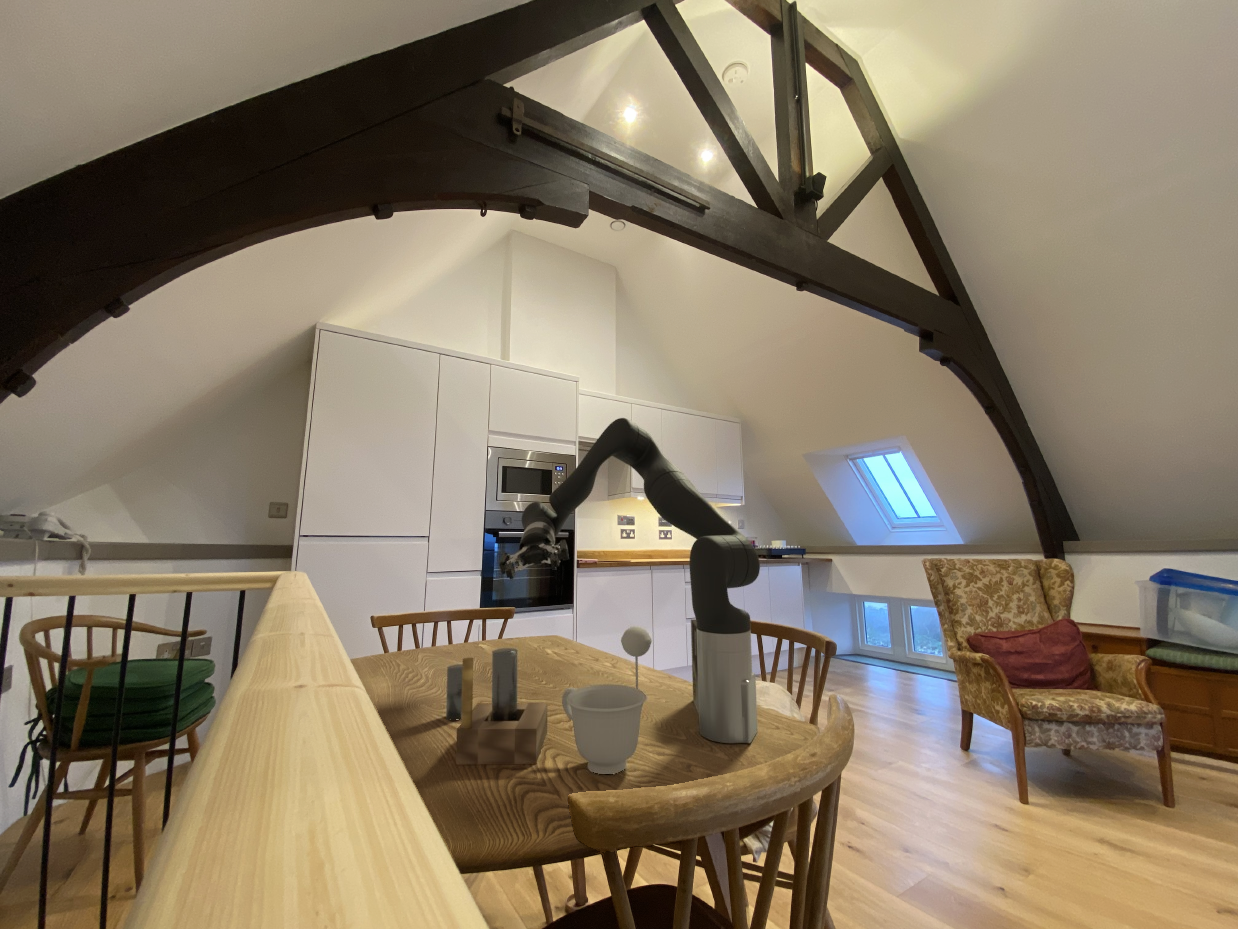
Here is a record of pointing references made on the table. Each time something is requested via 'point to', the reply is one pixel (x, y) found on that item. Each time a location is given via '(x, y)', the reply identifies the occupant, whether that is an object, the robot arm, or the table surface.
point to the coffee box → (694, 663)
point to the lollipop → (636, 644)
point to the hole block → (498, 730)
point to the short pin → (454, 692)
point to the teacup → (605, 724)
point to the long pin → (504, 684)
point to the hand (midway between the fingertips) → (531, 570)
